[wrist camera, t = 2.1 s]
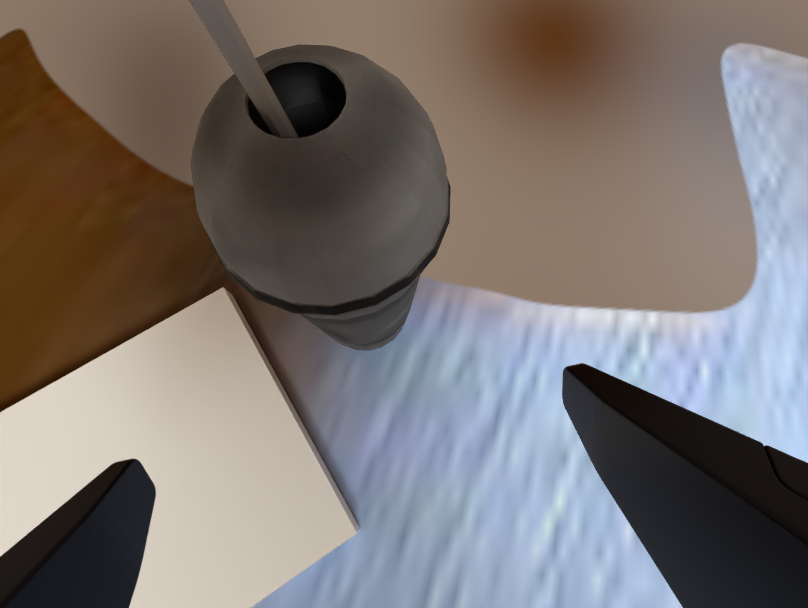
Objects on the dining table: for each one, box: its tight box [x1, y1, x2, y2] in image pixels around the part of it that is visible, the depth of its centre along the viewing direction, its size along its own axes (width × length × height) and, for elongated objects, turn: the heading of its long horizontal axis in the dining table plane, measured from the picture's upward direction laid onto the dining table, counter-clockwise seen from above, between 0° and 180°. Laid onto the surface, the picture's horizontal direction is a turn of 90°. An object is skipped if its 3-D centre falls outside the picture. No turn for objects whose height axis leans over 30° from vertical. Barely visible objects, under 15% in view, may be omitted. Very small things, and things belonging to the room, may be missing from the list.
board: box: [0, 287, 360, 608], centre depth 21 cm, size 14×14×1 cm
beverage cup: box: [189, 0, 450, 350], centre depth 14 cm, size 7×7×20 cm
